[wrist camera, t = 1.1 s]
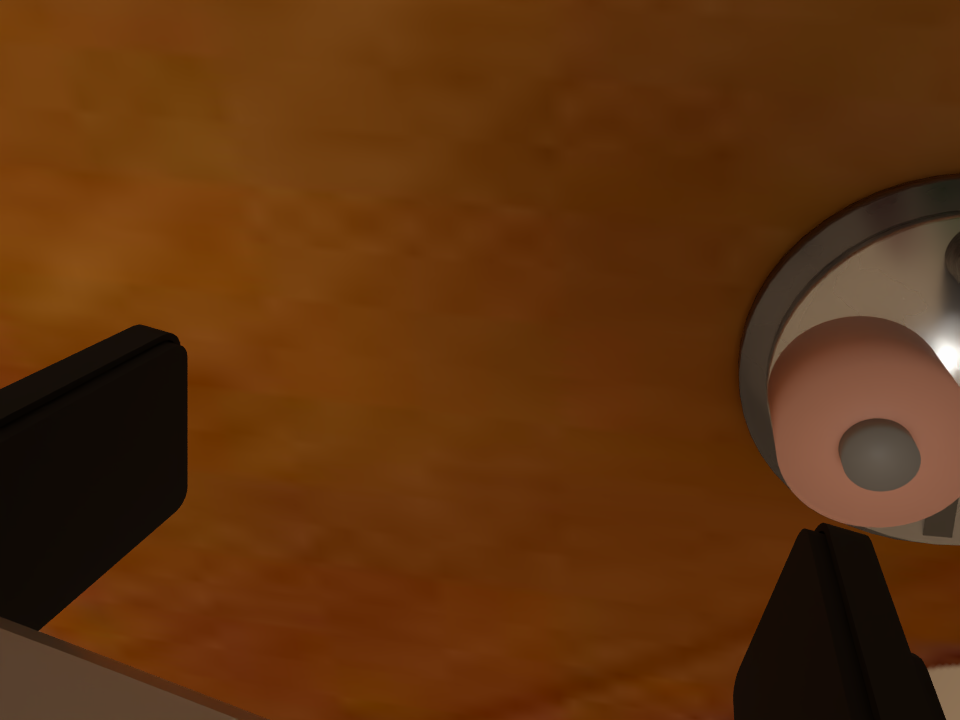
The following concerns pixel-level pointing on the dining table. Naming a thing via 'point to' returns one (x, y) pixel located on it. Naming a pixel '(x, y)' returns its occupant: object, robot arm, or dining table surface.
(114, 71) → the dining table surface
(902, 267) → the turntable
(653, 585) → the dining table surface
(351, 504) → the dining table surface
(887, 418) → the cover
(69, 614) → the dining table surface
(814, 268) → the base
